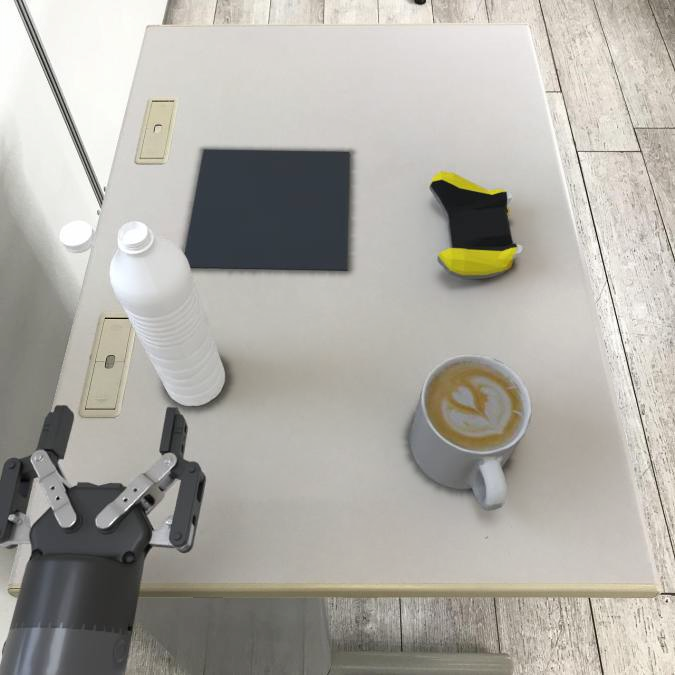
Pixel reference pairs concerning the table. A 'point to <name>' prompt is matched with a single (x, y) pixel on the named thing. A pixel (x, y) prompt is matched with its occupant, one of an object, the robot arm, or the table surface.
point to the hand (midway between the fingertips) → (120, 409)
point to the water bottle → (160, 308)
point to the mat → (270, 210)
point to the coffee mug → (470, 425)
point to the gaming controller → (474, 227)
